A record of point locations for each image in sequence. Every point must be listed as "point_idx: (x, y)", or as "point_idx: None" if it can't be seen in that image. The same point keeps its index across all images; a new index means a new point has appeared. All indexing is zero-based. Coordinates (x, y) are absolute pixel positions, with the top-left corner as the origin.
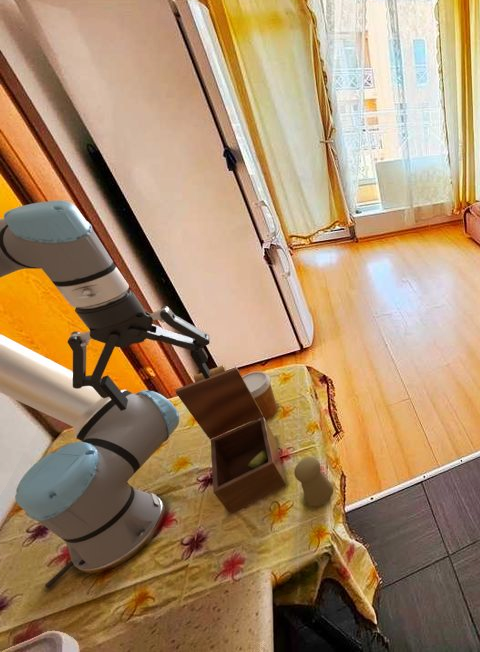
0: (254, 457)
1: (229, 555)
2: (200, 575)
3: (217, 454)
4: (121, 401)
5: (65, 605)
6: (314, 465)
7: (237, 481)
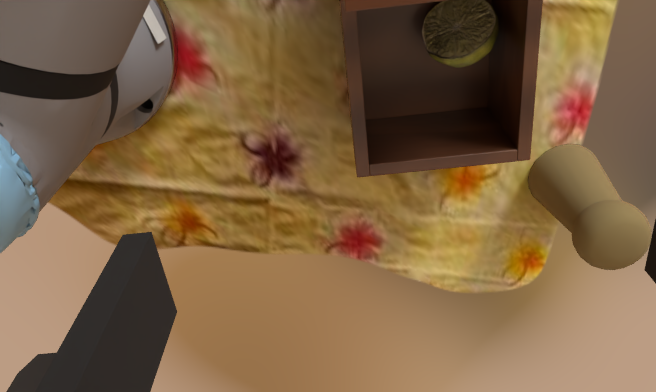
0: (462, 57)
1: (351, 220)
2: (296, 231)
3: None
4: (158, 342)
5: None
6: (640, 257)
7: (421, 169)
